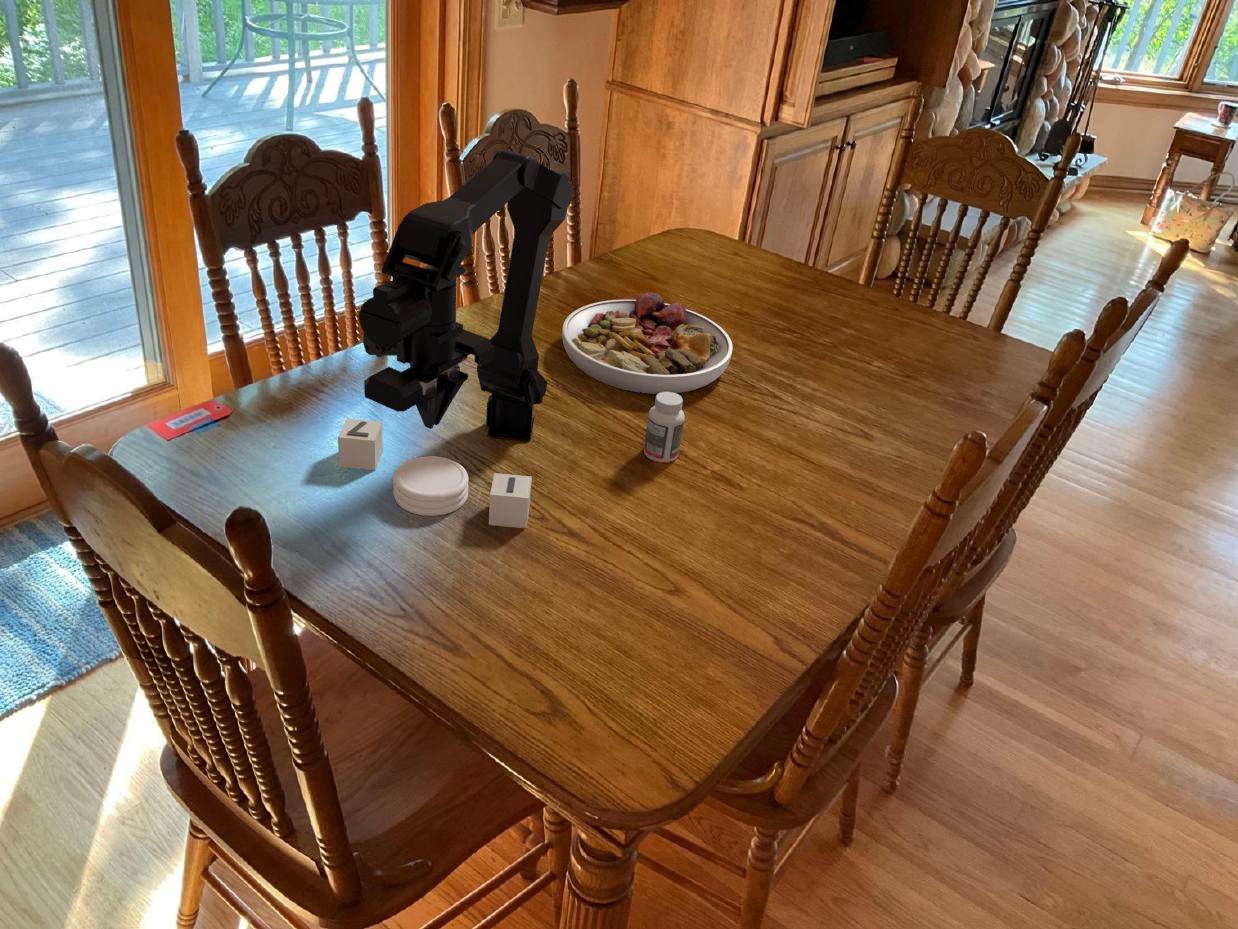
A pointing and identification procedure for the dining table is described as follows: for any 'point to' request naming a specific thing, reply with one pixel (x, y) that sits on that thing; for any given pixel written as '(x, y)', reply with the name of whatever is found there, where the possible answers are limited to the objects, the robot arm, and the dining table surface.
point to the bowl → (646, 345)
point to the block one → (510, 500)
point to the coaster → (430, 486)
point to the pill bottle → (664, 428)
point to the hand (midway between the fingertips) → (431, 425)
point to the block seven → (360, 444)
